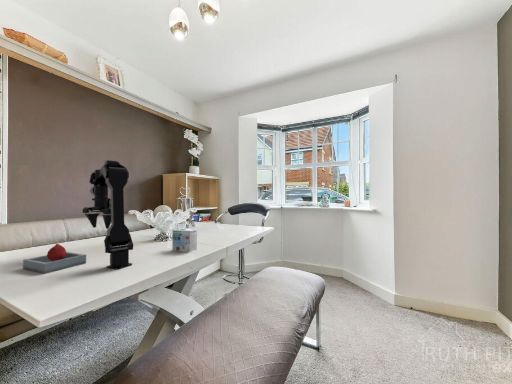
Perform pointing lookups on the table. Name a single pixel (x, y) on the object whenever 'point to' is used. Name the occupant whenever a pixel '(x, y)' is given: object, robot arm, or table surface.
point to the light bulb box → (184, 240)
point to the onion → (56, 253)
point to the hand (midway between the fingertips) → (100, 228)
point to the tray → (53, 263)
